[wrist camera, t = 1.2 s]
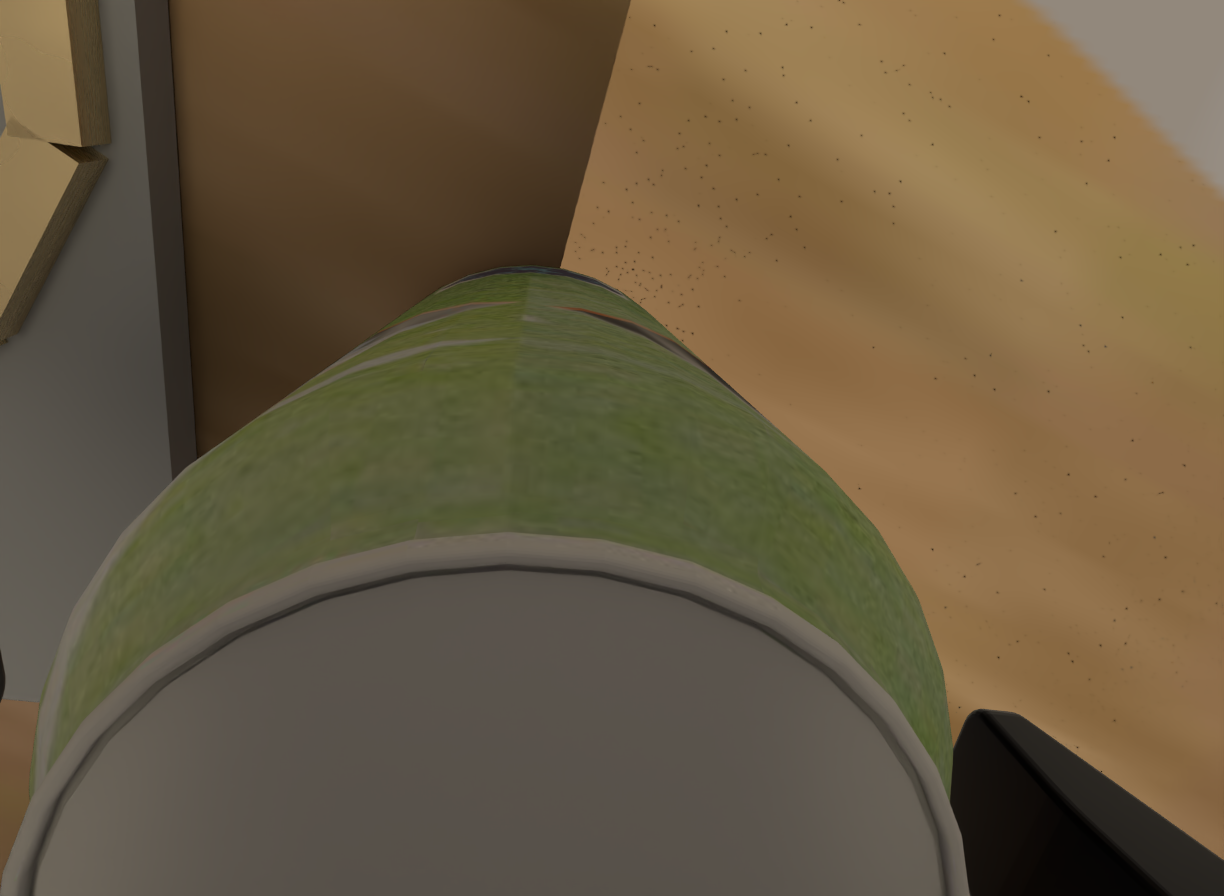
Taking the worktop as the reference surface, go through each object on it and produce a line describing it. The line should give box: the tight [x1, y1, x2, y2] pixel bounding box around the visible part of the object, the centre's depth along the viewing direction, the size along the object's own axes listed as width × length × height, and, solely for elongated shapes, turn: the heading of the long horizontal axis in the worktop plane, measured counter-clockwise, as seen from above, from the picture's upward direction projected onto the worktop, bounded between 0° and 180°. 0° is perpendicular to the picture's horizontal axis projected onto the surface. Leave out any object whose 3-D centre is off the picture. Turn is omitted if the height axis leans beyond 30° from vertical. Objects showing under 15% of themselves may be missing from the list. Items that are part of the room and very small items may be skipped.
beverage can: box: [0, 265, 969, 896], centre depth 10 cm, size 6×7×12 cm
